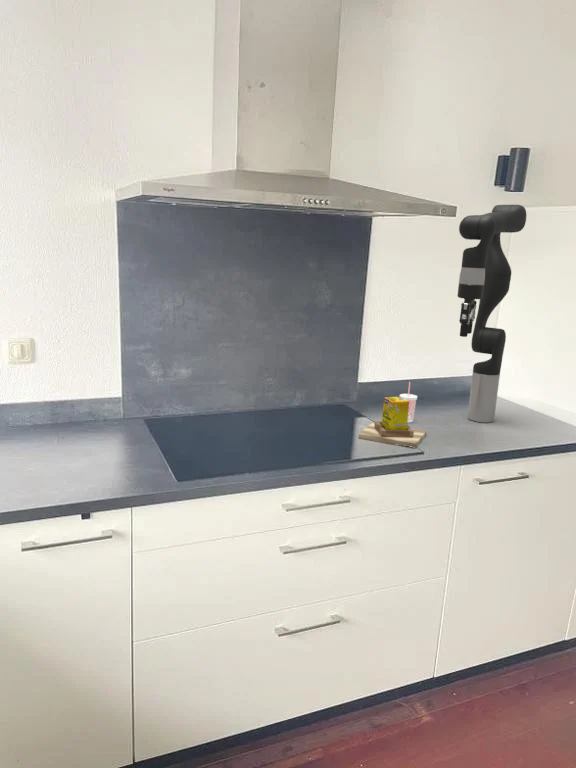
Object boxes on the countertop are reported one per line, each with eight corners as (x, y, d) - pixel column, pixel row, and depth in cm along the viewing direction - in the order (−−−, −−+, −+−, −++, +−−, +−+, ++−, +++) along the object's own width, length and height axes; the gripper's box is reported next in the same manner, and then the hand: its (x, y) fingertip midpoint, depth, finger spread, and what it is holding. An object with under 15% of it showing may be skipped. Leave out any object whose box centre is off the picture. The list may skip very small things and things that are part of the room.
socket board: (372, 426, 199) (373, 416, 198) (426, 435, 191) (427, 425, 190) (358, 438, 185) (359, 427, 184) (415, 448, 178) (416, 437, 177)
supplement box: (380, 430, 190) (383, 397, 187) (396, 428, 192) (399, 396, 189) (390, 435, 184) (393, 402, 182) (406, 434, 186) (409, 400, 184)
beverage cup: (413, 423, 203) (417, 384, 200) (396, 421, 205) (399, 382, 202) (416, 419, 209) (419, 381, 206) (398, 417, 211) (402, 379, 208)
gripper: (462, 281, 189) (457, 331, 193) (455, 282, 177) (449, 336, 181) (487, 282, 186) (481, 333, 190) (480, 284, 174) (474, 338, 177)
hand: (465, 334), depth 185 cm, fingers open, 8 cm apart
